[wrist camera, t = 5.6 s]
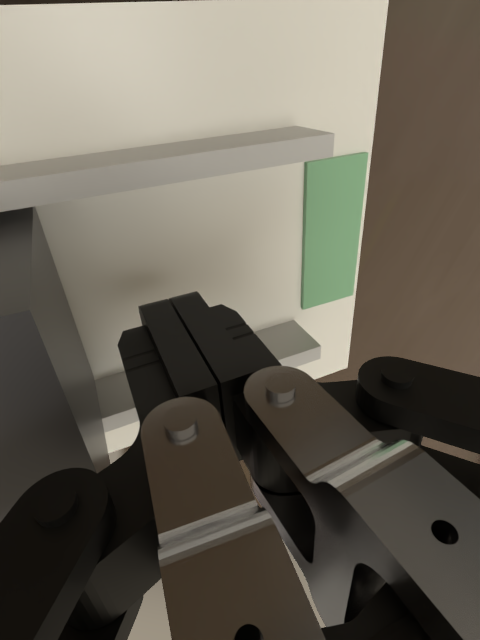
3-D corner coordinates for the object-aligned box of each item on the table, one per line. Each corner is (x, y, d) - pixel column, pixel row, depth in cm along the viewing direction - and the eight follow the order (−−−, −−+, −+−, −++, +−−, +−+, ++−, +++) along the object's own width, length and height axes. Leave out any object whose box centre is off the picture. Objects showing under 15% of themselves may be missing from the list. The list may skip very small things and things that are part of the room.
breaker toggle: (-4, 407, 13) (-28, 605, 8) (-105, 224, 9) (-249, 375, 5) (94, 378, 14) (124, 540, 9) (33, 201, 10) (29, 309, 6)
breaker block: (-60, 424, 18) (-103, 581, 12) (-322, 39, 10) (-752, -2, 5) (295, 317, 23) (375, 393, 18) (300, 15, 15) (443, -16, 10)
